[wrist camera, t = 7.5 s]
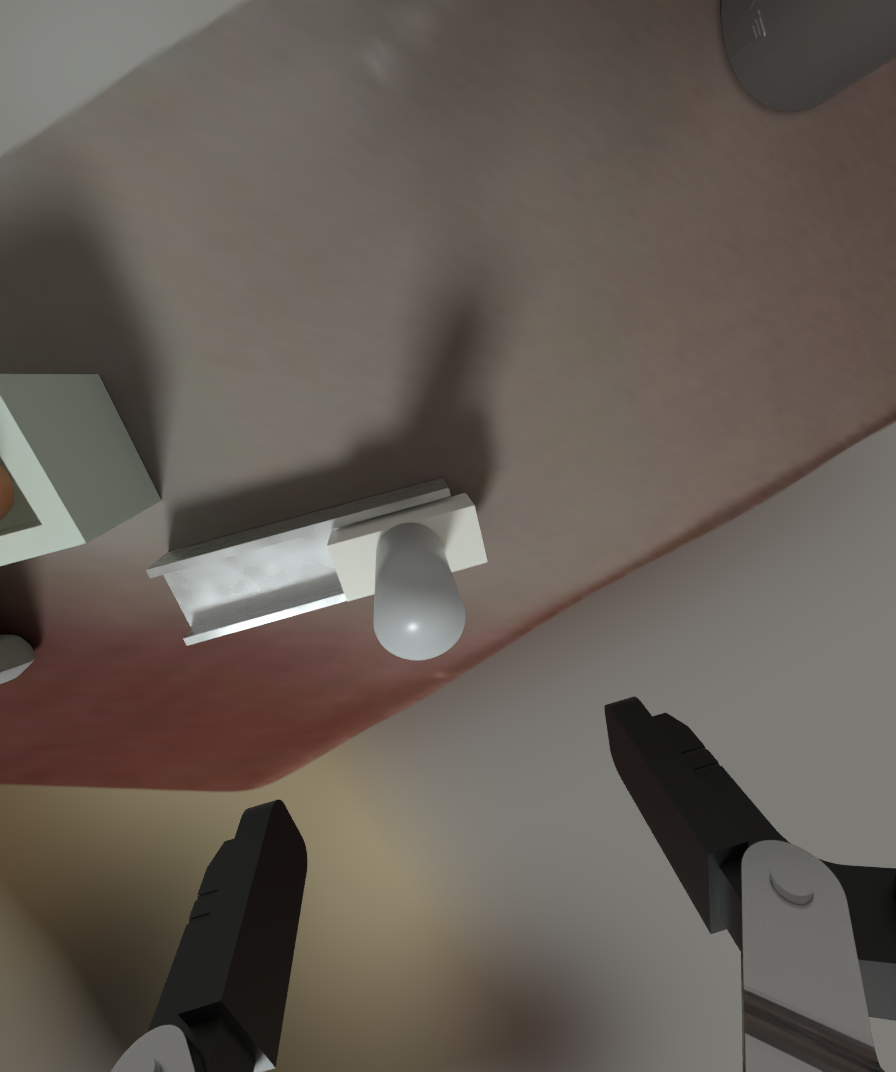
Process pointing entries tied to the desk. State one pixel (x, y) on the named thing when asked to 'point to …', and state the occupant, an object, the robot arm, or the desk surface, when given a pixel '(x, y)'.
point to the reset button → (5, 493)
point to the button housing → (65, 464)
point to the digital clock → (14, 656)
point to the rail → (272, 566)
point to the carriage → (411, 572)
